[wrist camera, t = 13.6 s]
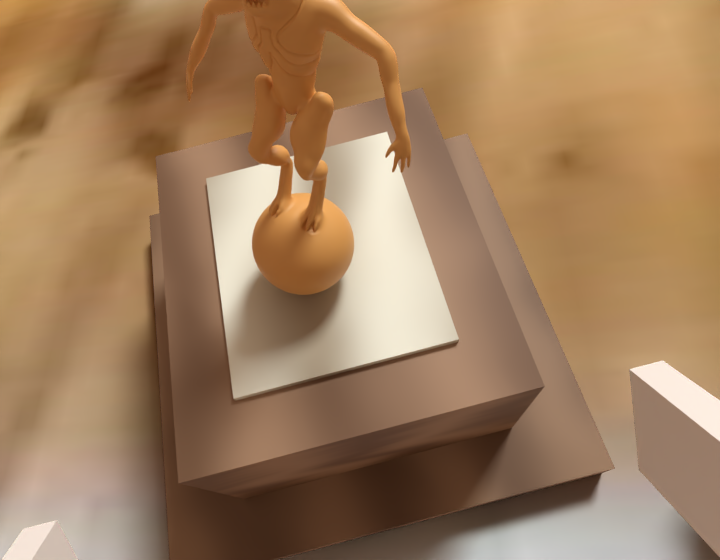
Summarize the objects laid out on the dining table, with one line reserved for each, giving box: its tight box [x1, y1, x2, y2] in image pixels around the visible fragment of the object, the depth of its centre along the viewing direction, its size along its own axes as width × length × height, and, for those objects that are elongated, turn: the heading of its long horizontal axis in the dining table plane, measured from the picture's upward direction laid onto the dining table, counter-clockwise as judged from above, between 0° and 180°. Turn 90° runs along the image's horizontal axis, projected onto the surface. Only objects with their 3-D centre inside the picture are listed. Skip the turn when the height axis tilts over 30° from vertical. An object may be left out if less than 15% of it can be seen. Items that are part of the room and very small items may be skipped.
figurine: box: [186, 0, 411, 295], centre depth 17 cm, size 8×6×12 cm
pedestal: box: [150, 88, 615, 560], centre depth 27 cm, size 22×22×10 cm
